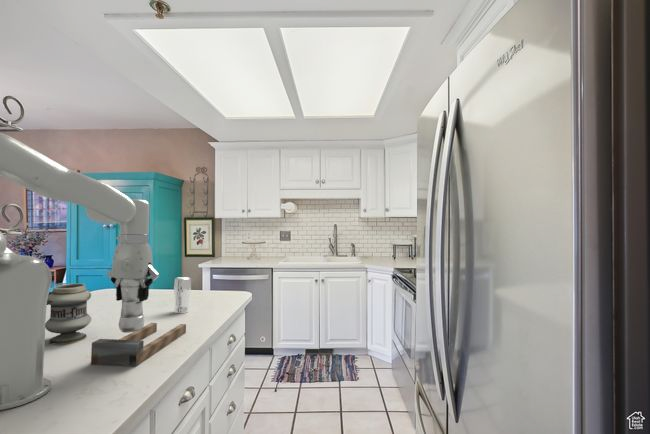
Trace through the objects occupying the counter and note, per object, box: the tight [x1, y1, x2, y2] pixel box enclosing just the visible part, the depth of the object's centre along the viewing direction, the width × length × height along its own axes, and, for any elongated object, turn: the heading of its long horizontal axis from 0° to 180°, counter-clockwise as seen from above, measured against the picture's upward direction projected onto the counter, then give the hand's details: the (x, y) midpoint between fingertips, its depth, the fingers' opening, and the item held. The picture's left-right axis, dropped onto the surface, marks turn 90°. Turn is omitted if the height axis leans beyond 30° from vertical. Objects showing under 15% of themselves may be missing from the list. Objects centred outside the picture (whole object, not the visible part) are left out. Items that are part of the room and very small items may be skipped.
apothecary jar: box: [45, 282, 92, 346], centre depth 107 cm, size 12×12×18 cm
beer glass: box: [173, 276, 192, 315], centre depth 143 cm, size 7×7×15 cm
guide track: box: [90, 322, 187, 367], centre depth 102 cm, size 28×13×6 cm, turn 177°
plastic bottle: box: [118, 279, 145, 334], centre depth 96 cm, size 6×7×20 cm
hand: (132, 299), depth 95 cm, fingers closed on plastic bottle, 6 cm apart
